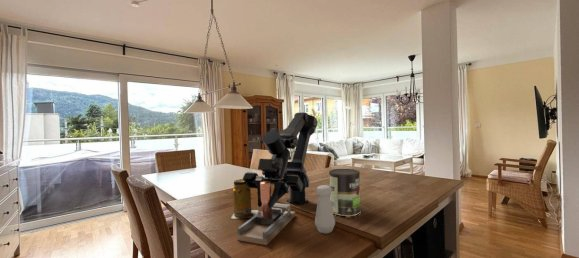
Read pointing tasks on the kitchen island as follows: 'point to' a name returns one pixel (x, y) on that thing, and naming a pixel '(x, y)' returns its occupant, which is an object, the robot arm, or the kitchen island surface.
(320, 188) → the salt shaker
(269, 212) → the slider
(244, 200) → the condiment
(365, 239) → the kitchen island surface
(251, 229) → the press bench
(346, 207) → the coffee can
